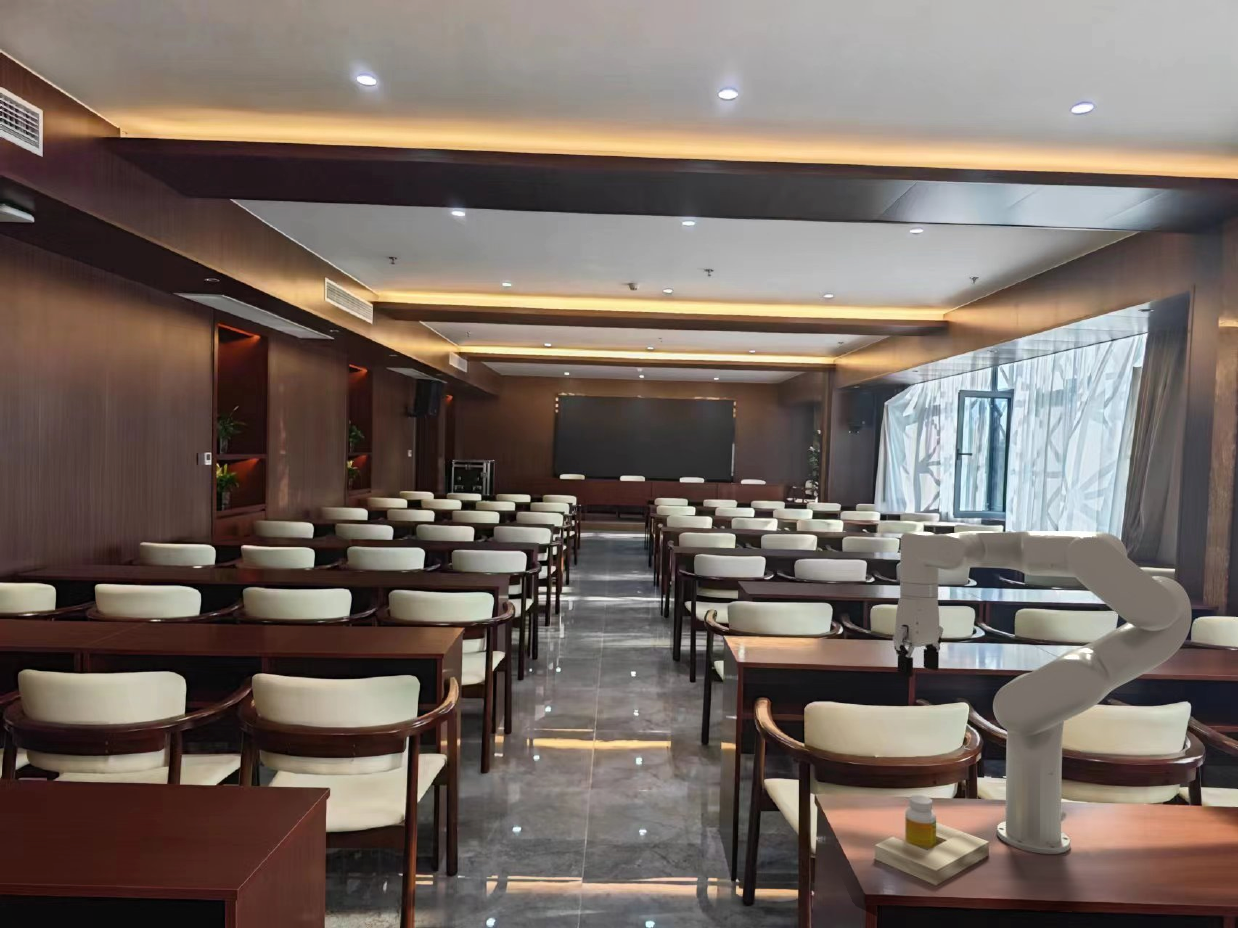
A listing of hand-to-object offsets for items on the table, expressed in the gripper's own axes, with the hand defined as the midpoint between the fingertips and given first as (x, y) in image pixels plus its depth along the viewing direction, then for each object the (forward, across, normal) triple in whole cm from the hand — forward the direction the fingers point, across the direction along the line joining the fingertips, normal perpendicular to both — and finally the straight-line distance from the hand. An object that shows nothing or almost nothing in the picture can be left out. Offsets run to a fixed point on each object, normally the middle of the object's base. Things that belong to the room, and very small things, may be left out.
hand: (918, 672), depth 173 cm
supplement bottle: (+28, +18, +12) cm, 36 cm away
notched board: (+28, +18, +14) cm, 36 cm away
